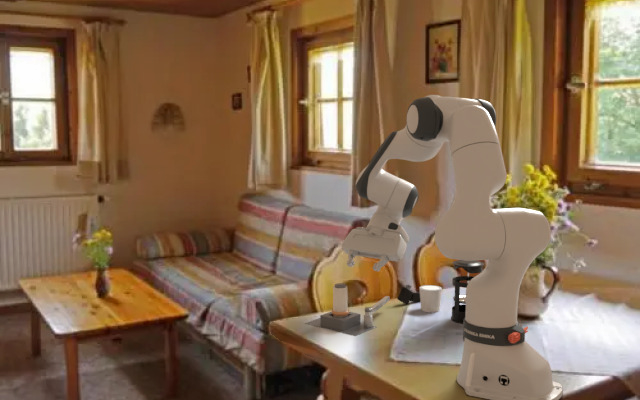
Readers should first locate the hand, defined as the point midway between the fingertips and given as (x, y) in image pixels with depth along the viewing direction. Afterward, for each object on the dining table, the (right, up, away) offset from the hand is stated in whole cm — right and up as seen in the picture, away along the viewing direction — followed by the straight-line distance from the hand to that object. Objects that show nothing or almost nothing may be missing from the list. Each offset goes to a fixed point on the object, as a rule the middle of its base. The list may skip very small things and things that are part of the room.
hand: (362, 267), depth 196 cm
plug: (-6, -16, -6) cm, 18 cm away
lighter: (+16, -14, +19) cm, 29 cm away
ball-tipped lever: (+4, -11, -1) cm, 12 cm away
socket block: (-6, -17, -6) cm, 19 cm away
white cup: (+22, -14, +12) cm, 29 cm away
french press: (+31, -16, +2) cm, 35 cm away
